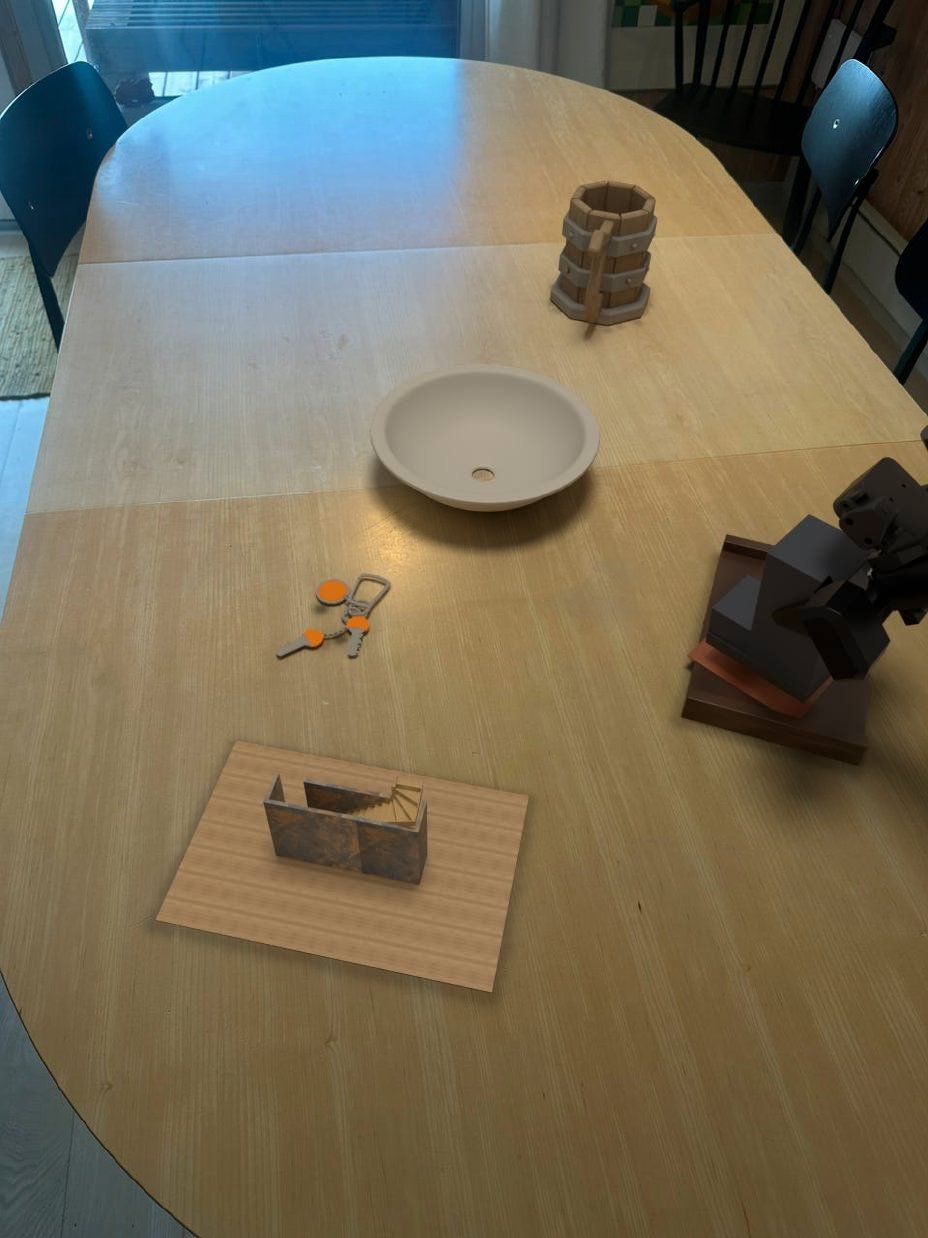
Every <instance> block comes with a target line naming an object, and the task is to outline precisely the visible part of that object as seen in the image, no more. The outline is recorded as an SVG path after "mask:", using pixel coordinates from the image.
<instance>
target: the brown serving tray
mask: <svg viewBox="0 0 928 1238" xmlns="http://www.w3.org/2000/svg"><path fill="white" fill-rule="evenodd" d="M722 543H723V544H722V546H721V550H720V553H719V558H718V561H717V565H716V570H715V573H714V578H713V583H712V586H711V591H710V593H709V599H708V603H707V607H706V610H705V611H706V612H705V616H704V620H703V623H702V627H701V632H700V636H699V639H698V644H697V645H696V646H695V647H694V648H693V649H692V650H691V651H690V652H689V653H688V654H687V655H686V657H687V658H689V659H691V660H693V665H692V667H691V668H692V669H691V673H690V677H689V682H688V685H687V690H686V694H685V697H684V701H683V706H682V711H681V715H680V716H681V717H683V718H687V719H689V720H693V721H697V722H701V723H704V724H708V725H711V726H715V727H719V728H721V729H726V730H729V731H733V732H735V733H740V734H744V735H747V736H751V737H754V738H758V739H761V740H765V741H768V742H772V743H776V744H779V745H782V746H787V747H790V748H794V749H796V750H797V749H798V750H800V751H804V752H807V753H811V754H815V755H817V756H818V755H819V756H823V757H826V758H829V759H833V760H836V761H841V762H843V763H847V764H851V765H855V766H859V764H860V762H861V761H862V758H863V757H864V755H865V754H866V752H867V750H868V749H869V739H870V737H869V736H868V735H866V729H867V728H866V726H867V715H868V714H867V713H868V699H869V689H870V675H871V671H870V672H869V674H868V675H867V676H866V678H865V679H864V680H858V681H847V682H838V681H835V680H833V678H832V676H830V677H829V678H828V679H827V680H826V681H825V682H824V683H823V684H822V685H821V686H820V688H819V689H818V690H817V691H816V692H815V693H814V694H813V695H812V696H811V697H810V698H809V699H808V700H807V701H806V702H805V703H804V704H803V703H801V702H800V701H798V700H797V699H795V698H794V697H792V696H790V695H789V694H787V693H786V692H784V691H782V690H781V689H779V688H778V687H776V686H774V685H773V684H771V683H770V682H768V681H766V680H765V679H763V678H762V677H760V676H758V675H757V674H755V673H754V672H752V671H750V670H749V669H747V668H746V667H744V666H742V665H741V664H739V663H738V662H736V661H734V660H733V659H731V658H730V657H728V656H726V655H725V654H723V653H722V652H720V651H718V650H717V649H715V648H714V647H712V646H710V645H709V644H707V643H706V635H707V631H708V629H709V623H710V616H711V610H712V607H713V606H714V605H715V604H716V603H718V602H719V601H720V600H721V599H722V598H723V597H724V596H725V595H726V594H727V593H728V592H729V591H731V590H732V589H733V588H734V587H735V586H736V585H737V584H738V583H739V582H740V581H741V580H743V579H744V578H745V577H746V576H747V575H750V576H752V577H754V578H755V579H757V580H759V581H761V579H762V574H763V569H764V565H765V560H766V555H767V552H768V551H769V550H770V549H771V548H772V547H773V546H774V545H775V544H770V543H766V542H763V541H758V540H753V539H751V538H750V539H749V538H745V537H742V536H741V537H740V536H736V535H732V534H729V533H726V534H725V537H724V541H723V542H722ZM869 586H870V585H867V587H866V589H867V588H868V587H869ZM865 591H866V590H865Z"/></svg>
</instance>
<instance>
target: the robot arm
mask: <svg viewBox="0 0 928 1238" xmlns="http://www.w3.org/2000/svg"><path fill="white" fill-rule="evenodd" d="M919 437H920V439H921V441H922V443H923V446H924V447H925V449H926V452H927V453H928V424H927V425H926V426H924V428H923V429H922V430H921V432H920V433H919ZM832 509H833V513H834V514H835V515H836V517H837V518H838V527H839V529H840V530H842V531H843V532H844V533H845V534H846V535H847V536H848V537H849V538H850V539H851V540H852V541H853V542H854V543H855V544H856V545H857V546H858V547H859V548H860V549H864V550H870V549H871V548H874V549H876V550H879V551H878V552H873V553H872V554H871V555H870V556H869V557H868V558H867V560H868V562H869V564H870V566H871V569H870V570H869V571H868V573H867V576H868V578H869V581H868V584H867V585H870V586H869V587H868V588H867V589H866V591H865V590H864V588H862V587H860V586H858V585H856V584H854V583H852V582H850V581H848V580H842V581H837V582H833V580H832V578H831V576H830V575H828V576H827V577H826V579H825V580H824V581H823V582H822V583H821V584H820V585H819V586H818V588H817V589H816V590H815V591H814V592H813V593H812V595H811V597H810V598H808V599H805V600H802V601H799V602H796V603H793V604H790V605H787V606H785V607H782V608H780V609H777V610H775V611H773V612H772V613H771V616H772V618H773V620H774V622H775V623H776V624H777V625H779V626H781V627H784V628H786V629H789V630H791V631H794V632H796V633H799V634H801V635H803V636H806V637H808V638H811V639H812V641H813V643H814V645H815V647H816V649H817V650H818V652H819V654H820V656H821V658H822V660H823V662H824V663H825V665H826V667H827V669H828V671H829V673H830V675H831V676H832V678H833V680H835V681H838V682H847V681H858V680H864V679H865V678H866V676H867V675H868V674H869V672H870V673H871V671H872V670H873V669H874V668H875V666H876V665H877V663H878V662H879V661H880V660H881V658H882V657H883V656H884V655H885V653H886V651H887V649H888V648H889V645H890V643H891V639H890V636H889V634H888V632H887V631H886V629H885V627H884V623H886V621H887V620H888V618H889V617H890V616H891V614H892V613H894V612H898V614H899V616H900V618H901V620H902V621H903V623H904V625H905V627H909V626H916V625H919V624H920V623H921V622H922V620H923V619H924V618H925V617H926V616H927V614H928V483H927V484H922V485H921V484H920V483H919V482H918V481H917V480H916V479H915V478H914V477H913V476H912V475H911V474H910V473H909V472H908V471H907V470H906V469H905V467H903V466H902V465H901V464H900V463H899V462H898V461H897V460H896V459H894V458H892V457H889V456H884V457H881V459H879V460H878V461H877V462H875V463H874V464H873V465H872V466H871V467H869V468H868V469H866V471H864V472H863V473H862V474H860V475H858V477H857V478H854V480H853V481H852V482H850V484H849V485H848V486H847V487H846V488H845V489H844V490H843V491H842V492H841V493H840V494H839V495H838V496H837V497H836V498H835V499H834V501H833V503H832Z"/></svg>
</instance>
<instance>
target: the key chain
mask: <svg viewBox="0 0 928 1238" xmlns="http://www.w3.org/2000/svg"><path fill="white" fill-rule="evenodd" d="M363 578H372V579H376V580H378V581H381V582H383V583H385V585H384V587H383V588H382V589H381V590H380V591H379V592H378V593H377V595H375V597H374V598H373V599H372V600H371V601H369V600H367V599H363V598H360V599H356V597H355V596H354V593H355V591H356V589H357V587H358V585H359V583H360V581H361V580H362V579H363ZM391 585H392V583H391V581H390V580H389V579H387V578H385V577H383V576H381V575H378V574H373V573H366V572H365V573H364V572H363V573H360V574H359V575H358V577H357V580H356V582H355V584H354V586H353V588H352V589H350V586H349V585H348V583H346V582H345V581H344V580H341V579H337V578H329V579H327V580H324V581H322V582H321V583H319V584H318V585H317V587H316V589H315V596H316V598H317V600H318V601H320V602H321V603H322V604H325V605H338V604H342V603H343V602H345V601H347V602H348V603H349V605H348V607H346V608H344V609H343V610H342V612H341V618H342V620H343V621H344V622H346V624H345V625H344V626H343V627H341V628H340V629H338V630H336V631H333V632H325V633H324V632H322V631H320V630H319V629H313V628H311V629H306V630H305V631H304V632H302V633H301V636H300V637H298V638H297V639H296V640H295V641H289V642H287V643H288V644H285V645H283V647H277V650H275V652H276V656H278V657H280V658H281V657H283V656H285V655H288V654H290V653H292V652H294V651H296V650H299V649H300V648H303V647H310V648H316V647H318V646H320V645H321V644H322V643H323V641H324V637H333V636H336V635H339V634H342V633H343V632H345V631H346V630H348V631H349V632H350V633H351V635H350V641H349V645H348V649H347V653H346V654H347V656H350V657H355V656H357V655H358V654H359V650H358V648H360V646H361V645H362V637H364V633H365V632H368V630H369V628H370V624H369V620H368V619H367V618H366V617H364V616H366V615H367V614H368V613H369V612H370V611H371V609H372V606H373V605H374V604H375V603H376V602H378V600H379V599H380V598H381V597H382V596H383V595H384V593H386V592H387V590H389V588H390V586H391ZM350 590H351V592H350ZM356 606H357V607H356ZM359 608H363V609H364V610H363V611H362V610H361V609H359ZM352 610H353V611H356V612H353V611H352ZM346 613H348V614H349V615H351V616H352V617H351V618H349V619H347V618H346V616H345V615H346Z"/></svg>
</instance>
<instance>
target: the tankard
mask: <svg viewBox="0 0 928 1238" xmlns="http://www.w3.org/2000/svg"><path fill="white" fill-rule="evenodd" d="M656 202H657V199H656V197H654V196H653V195H652V194H650V193H649V192H647V191H646V190H645V189H644V188H642V187H641V186H639V185H636V184H634V183H627V182H621V181H615V180H609V179H608V180H607V181H606V179H605V180H600V181H595V182H589V183H584V184H581V185H579V186H578V187H577V188H576V190H575V191H574V193H573V194H572V197H570V201H569V209H568V210H567V212H566V214H565V215H564V217H563V220H562V229H561V230H562V231H561V236H563V237H564V239H566V240H565V245H564V247H563V248H562V251H561V252H560V254H559V259H558V271H559V272H560V273H559V275H558V276H557V278H556V280H555V282H554V284H553V285H552V287H551V289H550V295H549V296H550V297H549V299H550V300H551V301H552V302H553V303H554V304H555V305H556V306H557V307H558V308H559V309H560V310H561V311H562V312H563V313H564V314H566V316H567V317H569V318H570V319H572V320H577V321H583V322H586V323H592V324H599V325H603V326H610V325H615V324H619V323H622V322H627V321H630V320H634V319H639V318H642V316H643V313H644V311H645V309H646V306H647V304H648V301H649V299H650V296H651V295H650V294H651V289H652V288H651V287H649V286H648V285H647V283H645V282H644V281H645V279H646V278H647V275H648V272H649V271H650V264H651V259H652V252H650V251H649V248H650V246H651V243H652V241H653V239H654V237H656V229H657V225H658V216H656V215H655V207H656Z"/></svg>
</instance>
